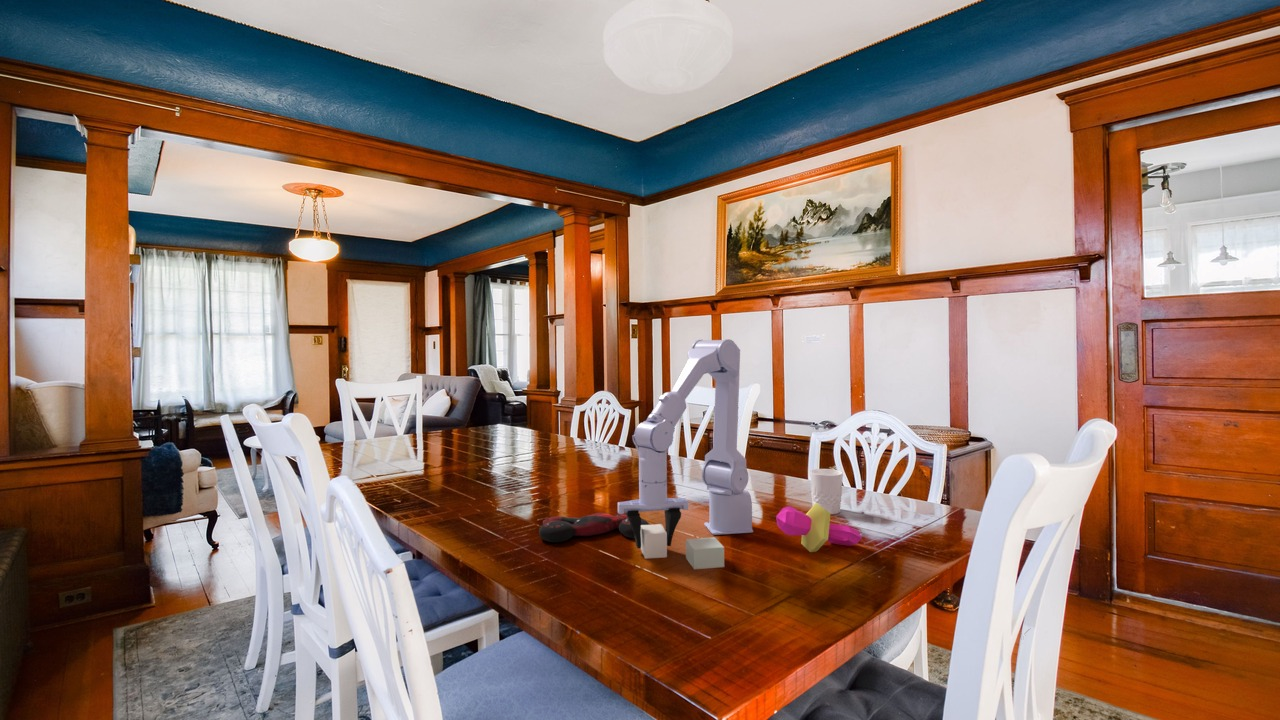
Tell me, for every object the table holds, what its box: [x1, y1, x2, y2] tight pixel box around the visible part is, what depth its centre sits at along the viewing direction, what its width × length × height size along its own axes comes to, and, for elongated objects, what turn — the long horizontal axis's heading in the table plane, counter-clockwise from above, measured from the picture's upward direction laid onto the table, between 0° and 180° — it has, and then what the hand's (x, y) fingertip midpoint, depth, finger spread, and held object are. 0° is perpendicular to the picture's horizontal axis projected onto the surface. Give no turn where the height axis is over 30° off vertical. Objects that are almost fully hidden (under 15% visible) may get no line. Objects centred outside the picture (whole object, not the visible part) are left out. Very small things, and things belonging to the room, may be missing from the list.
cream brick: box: [639, 523, 668, 560], centre depth 120 cm, size 4×6×5 cm
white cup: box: [810, 468, 843, 515], centre depth 149 cm, size 8×8×10 cm
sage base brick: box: [685, 536, 725, 570], centre depth 115 cm, size 6×6×4 cm
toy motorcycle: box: [538, 512, 651, 543], centre depth 134 cm, size 25×5×16 cm
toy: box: [775, 503, 863, 553], centre depth 122 cm, size 10×18×10 cm, turn 94°
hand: (653, 545), depth 120 cm, fingers open, 6 cm apart
